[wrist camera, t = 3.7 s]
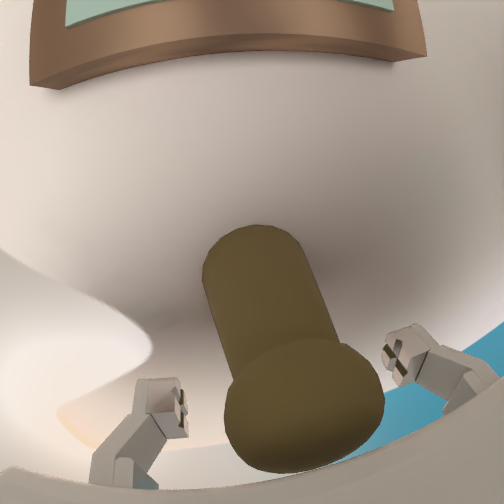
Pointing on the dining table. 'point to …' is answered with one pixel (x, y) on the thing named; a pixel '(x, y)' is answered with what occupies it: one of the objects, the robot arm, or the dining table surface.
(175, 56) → the wooden tray
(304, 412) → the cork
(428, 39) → the dining table surface
